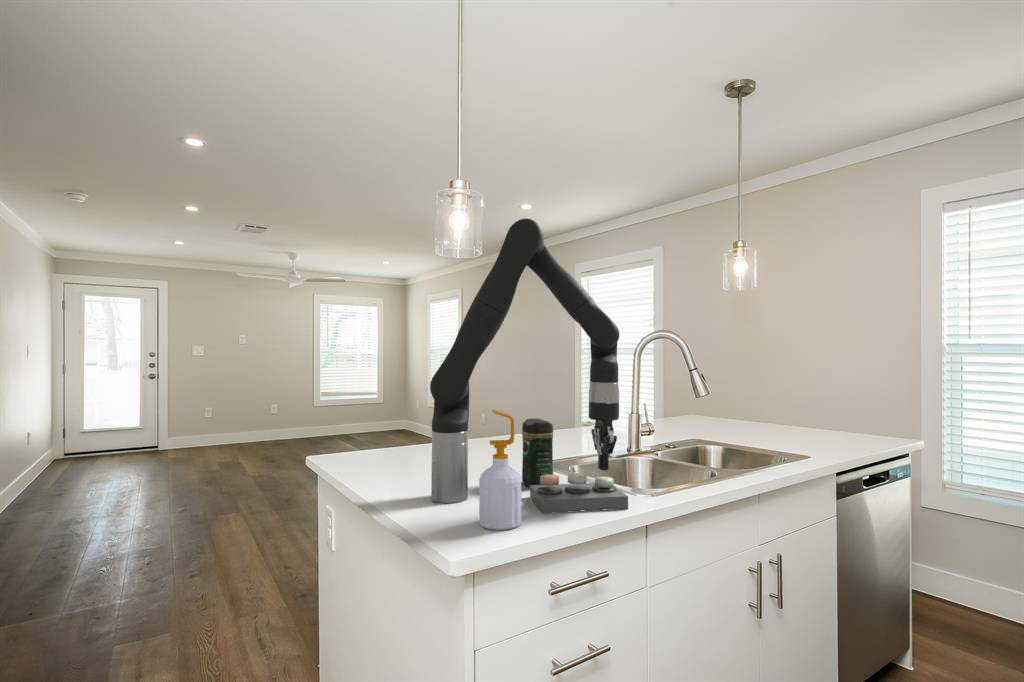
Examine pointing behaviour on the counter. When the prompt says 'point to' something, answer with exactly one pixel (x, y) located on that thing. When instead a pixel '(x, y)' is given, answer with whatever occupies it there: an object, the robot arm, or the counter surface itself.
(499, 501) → the soap bottle
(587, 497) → the button panel
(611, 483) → the sage button
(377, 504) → the counter surface
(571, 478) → the white button
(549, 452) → the coffee jar
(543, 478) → the terracotta button
